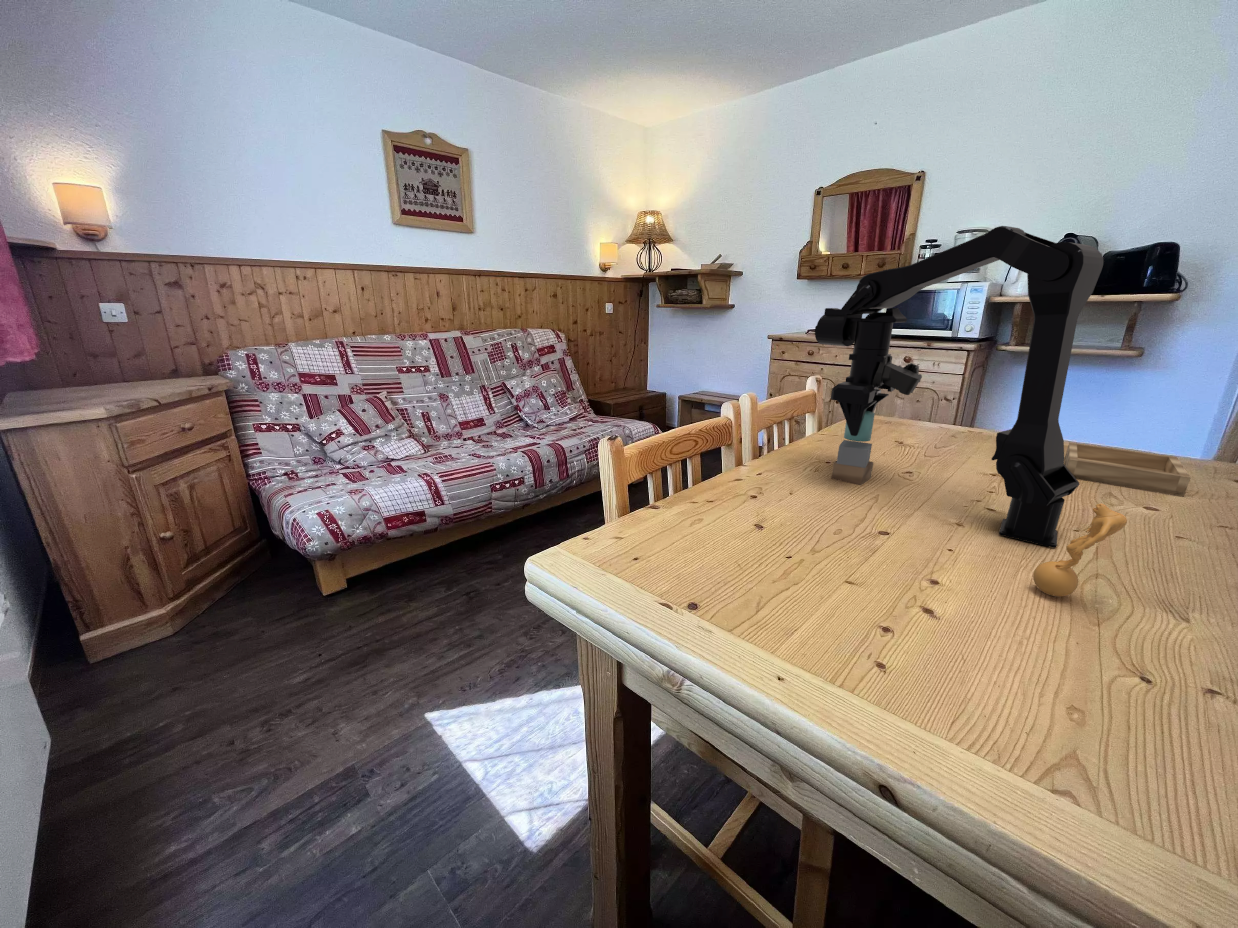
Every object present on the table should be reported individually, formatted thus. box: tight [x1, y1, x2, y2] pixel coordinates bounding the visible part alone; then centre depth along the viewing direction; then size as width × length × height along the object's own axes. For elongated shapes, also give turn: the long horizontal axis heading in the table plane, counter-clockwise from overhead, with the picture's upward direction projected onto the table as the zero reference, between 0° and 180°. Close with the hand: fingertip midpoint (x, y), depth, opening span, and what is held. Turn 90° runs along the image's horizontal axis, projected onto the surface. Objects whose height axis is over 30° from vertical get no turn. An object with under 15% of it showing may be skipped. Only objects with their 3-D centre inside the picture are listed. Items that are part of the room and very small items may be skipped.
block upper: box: [836, 439, 873, 468], centre depth 95 cm, size 5×5×4 cm
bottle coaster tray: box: [1064, 442, 1192, 497], centre depth 98 cm, size 16×16×4 cm
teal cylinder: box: [843, 411, 876, 443], centre depth 94 cm, size 5×5×5 cm
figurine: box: [1032, 503, 1128, 597], centre depth 56 cm, size 8×6×12 cm
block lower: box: [831, 460, 874, 487], centre depth 96 cm, size 6×6×4 cm
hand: (858, 433), depth 94 cm, fingers closed on teal cylinder, 5 cm apart
